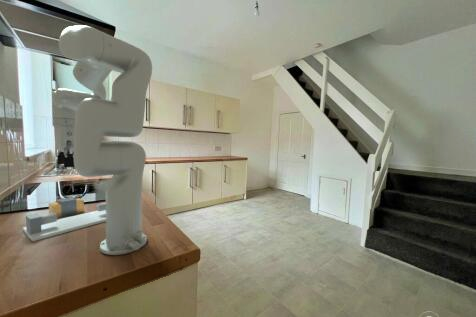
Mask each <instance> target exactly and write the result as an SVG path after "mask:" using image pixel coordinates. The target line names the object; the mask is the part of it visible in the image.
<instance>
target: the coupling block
mask: <svg viewBox="0 0 476 317" xmlns="http://www.w3.org/2000/svg"><path fill="white" fill-rule="evenodd" d="M84 203H85V201H84V199H82V198H80V197H78V198H75V197H72V196H71V197H65V198H59V199H58V198H57V199H56V202H54V201H53V202H49V203H48V214H52V213H56V214H57V219H59V218H64V217H66V216H67V217H68V216H71V215H72V216H73V215H77V214H82V213H85V207H84V206H85V204H84Z"/></svg>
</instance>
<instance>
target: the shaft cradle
mask: <svg viewBox="0 0 476 317" xmlns="http://www.w3.org/2000/svg"><path fill="white" fill-rule="evenodd" d="M25 222H26V223H25V224H26V226H24V227H22V231H23V232H24V234H26V235H27V237H28V238H29V239H30V240H31V242H36V241H39V240H42V239H48V238H50V237H54V236H58V235H61V234H64V233H65V234H66V233H68V232H71V231H76V230H80V229H83V228H86V227H89V226H94V225H98V224H101V223H104V222H105V223H106V202H103V203H97V204H96V210H93V211H90V212H83V213H79V214H75V215H72V216H71V215H70V216H67V217H61V218H57V214H56V213H52V214H49V213H48V214H43V215H40V214H38V212H37V213H31V214H26V215H25Z"/></svg>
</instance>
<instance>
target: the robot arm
mask: <svg viewBox="0 0 476 317" xmlns="http://www.w3.org/2000/svg"><path fill="white" fill-rule="evenodd" d="M58 49H59V51H60V53H61V55H62V56H64V57H65V58H66V59H70V60H73V61H76V63H75V65H74V67H73V69H72V75H73V77H74V78H75V80H76V81H77V82H78V83H79V84H80V85H82V86H83V87H85V88H86V89H88V90H89V91H92V92H93V93H89V92H85V91H78V90H73V89H68V88H63V87H61V88H56V89H55V91H53V92H52V93H51V111H52V112H51V114H52V115H51V116H52V120H51V121H52V127H55V146H56V150H57V154H56V155H57V156H56V157H57V159H56V160H57V165H63V167H64V168H74V169H75V171H76V173H77V174H78V175H80V176H82V177H84V178H85V177H86V178H97V177H106V176H107V177H108V176H112V177H111V178H110V179H109V181H108V182H107V185H106V188H105V203H106V221H105V239H103V240H102V241H101V242H100V244H99V251H100V252H101V253H103V254H104V255H108V256H109V255H110V256H118V255H119V256H120V255H126V254H129V253H133V252H135V251H138V250H140V248H143V247H144V246H145V245H146V243H147V242H148V237H147V235H146V234H145V233H144V232H143V230H142V229H143V228H142V227H143V226H142V218H143V215H142V214H143V213H142V212H143V209H142V208H143V207H142V206H143V201H142V200H143V197H142V196H143V195H142V194H143V177H144V170H145V165H146V160H147V156H146V155H147V154H146V151H145V149H144V147H143V146H142V145H141V144H138V143H136V142H133V141H126V140H125V141H121V140H120V141H119V140H103V138H104V137H111V138H112V137H113V138H114V137H115V138H117V137H118V138H135V137H138V136H140V135H141V133H142V132H143V128H144V123H145V122H144V121H145V112H146V111H145V110H146V100H147V90H148V87H149V84H150V82H151V78H152V74H153V64H152V62H153V61H152V60H151V58H150V56H149V55H148V53H147V52H145V51H144V50H143V49H141V48H139V47H137V46H135V45H133V44H131V43H129V42H127V41H124V40H122V39H119V38H117V37H114V36H112V35H110V34H108V33H106V32H104V31H101V30H100V29H97V28H95V27H92V26H88V25H73V26H72V25H71V26H68V27H66V28H64V29H63V30H62V32H61V33H60V36H59V38H58ZM112 71H115V72H118V73H120V74H119V75H118V76H117V77H116V78H115V79H114V81H113V83H112V86H111V98H110V100H108V99H106V98H107V91H106V87H105V85H104V82H105V81H106V79H107V78H108V76H109V75H110V74H111V72H112Z"/></svg>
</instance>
